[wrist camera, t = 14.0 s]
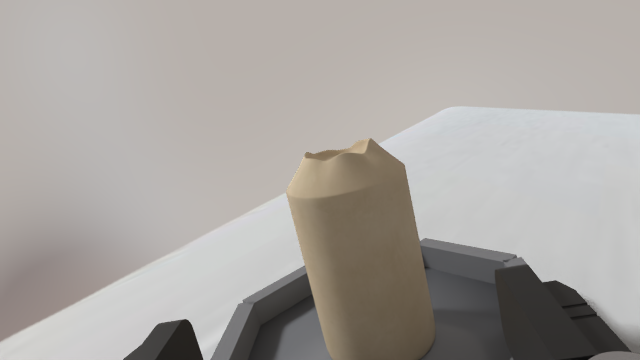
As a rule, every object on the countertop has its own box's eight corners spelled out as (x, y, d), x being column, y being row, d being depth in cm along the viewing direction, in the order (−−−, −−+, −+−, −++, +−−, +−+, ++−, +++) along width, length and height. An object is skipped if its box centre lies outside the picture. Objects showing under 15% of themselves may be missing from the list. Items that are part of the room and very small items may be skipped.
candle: (419, 299, 26) (384, 125, 23) (453, 358, 20) (412, 140, 18) (323, 322, 26) (279, 150, 23) (332, 388, 20) (275, 173, 18)
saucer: (177, 521, 17) (156, 467, 16) (266, 298, 32) (257, 266, 32) (646, 477, 15) (642, 411, 14) (501, 260, 30) (496, 224, 29)
